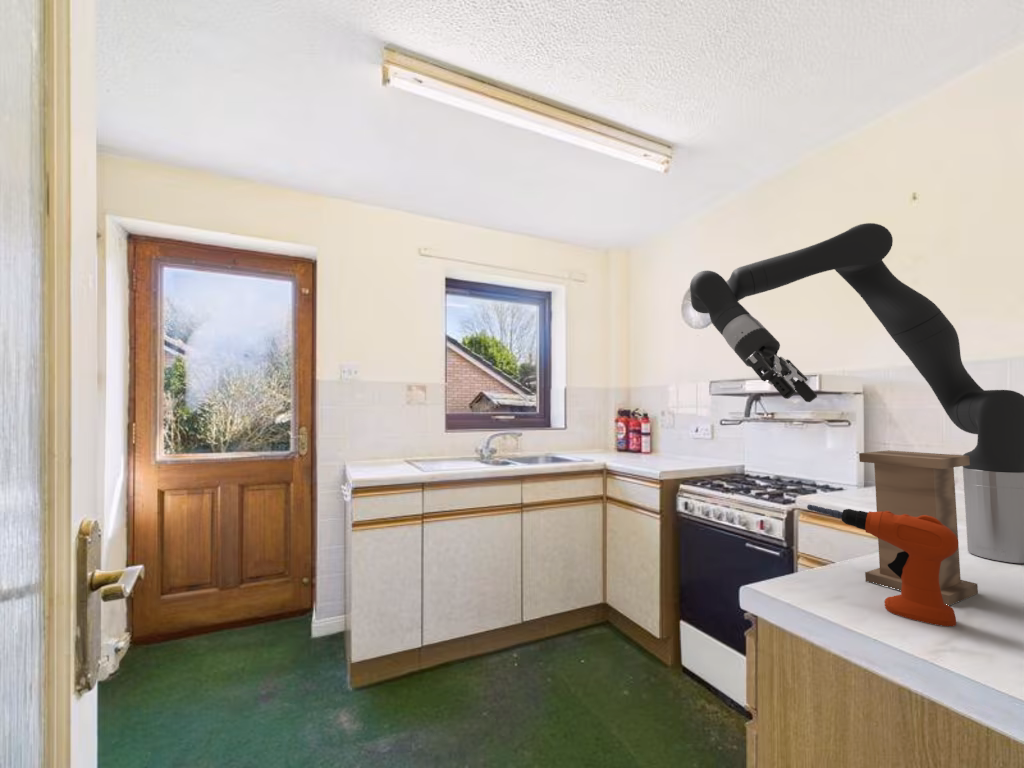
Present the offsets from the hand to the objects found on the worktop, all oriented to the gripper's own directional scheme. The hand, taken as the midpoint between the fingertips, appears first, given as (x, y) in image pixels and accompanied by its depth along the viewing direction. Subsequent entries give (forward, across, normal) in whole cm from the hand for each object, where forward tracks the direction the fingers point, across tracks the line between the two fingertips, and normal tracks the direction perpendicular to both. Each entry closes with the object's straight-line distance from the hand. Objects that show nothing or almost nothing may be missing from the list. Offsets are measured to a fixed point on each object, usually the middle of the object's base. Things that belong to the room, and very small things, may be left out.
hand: (802, 397), depth 86 cm
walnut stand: (+34, +7, +8) cm, 35 cm away
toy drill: (+34, -7, +10) cm, 36 cm away
